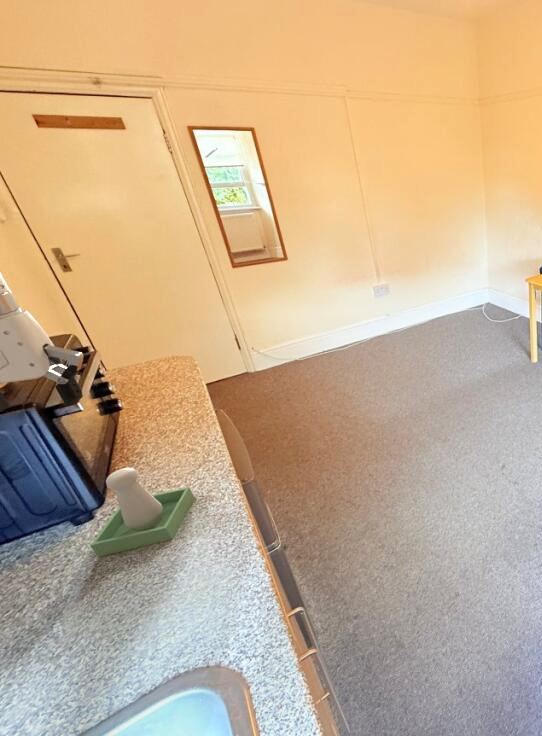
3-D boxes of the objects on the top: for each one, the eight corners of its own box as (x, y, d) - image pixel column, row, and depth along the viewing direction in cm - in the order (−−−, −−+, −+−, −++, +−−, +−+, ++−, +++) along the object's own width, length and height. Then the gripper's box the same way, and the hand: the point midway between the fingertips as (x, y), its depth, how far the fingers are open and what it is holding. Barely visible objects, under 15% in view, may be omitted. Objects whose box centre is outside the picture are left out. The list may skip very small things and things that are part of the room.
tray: (97, 557, 73) (89, 545, 72) (129, 511, 83) (123, 500, 81) (172, 539, 76) (166, 528, 75) (194, 497, 86) (189, 486, 84)
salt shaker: (137, 516, 81) (108, 467, 75) (171, 507, 82) (144, 459, 77) (123, 539, 76) (91, 488, 70) (160, 529, 77) (130, 479, 72)
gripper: (-133, 323, 52) (-53, 429, 59) (34, 309, 57) (89, 409, 64) (-77, 306, 59) (-12, 403, 66) (69, 295, 63) (115, 387, 71)
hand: (38, 406), depth 65 cm, fingers open, 9 cm apart
